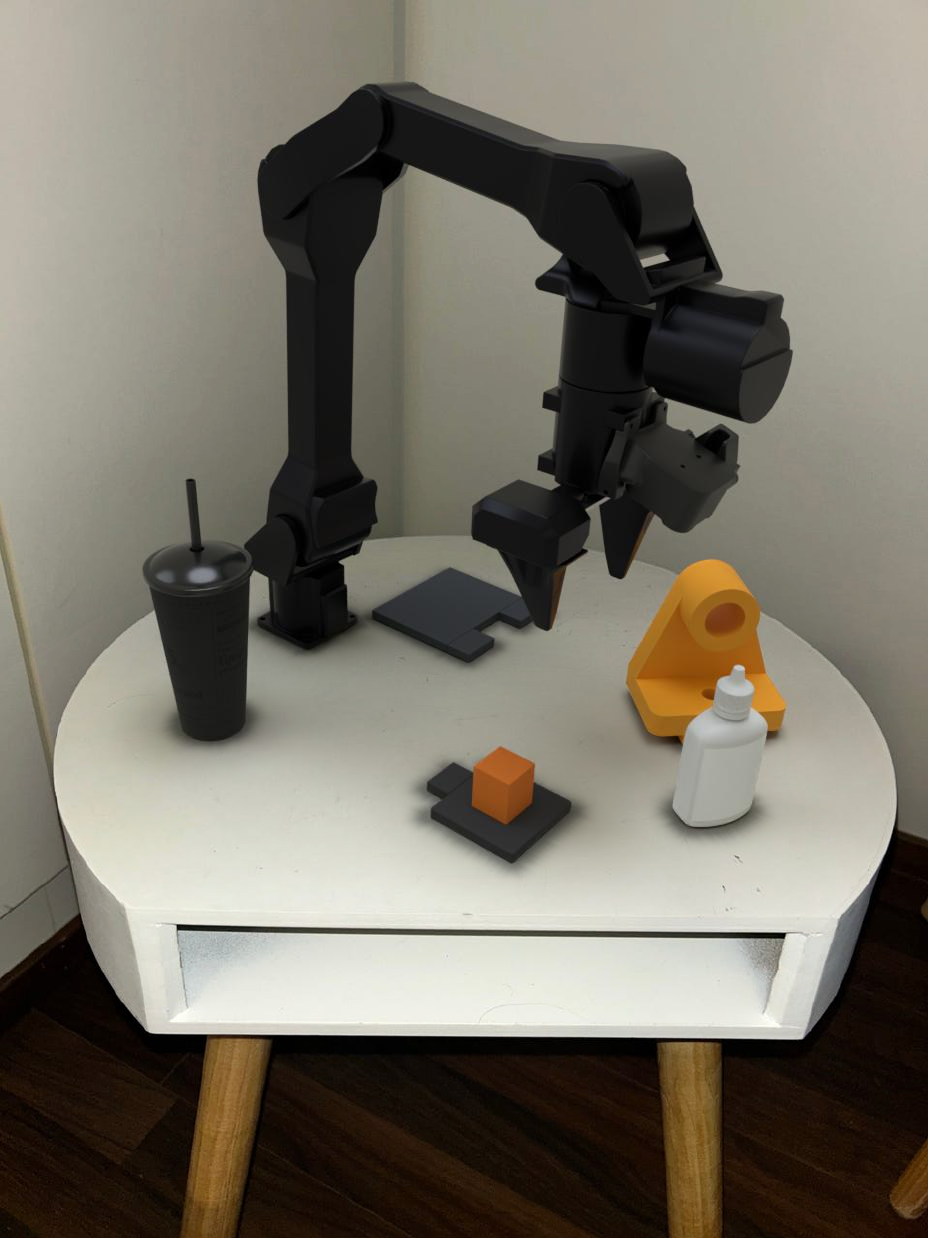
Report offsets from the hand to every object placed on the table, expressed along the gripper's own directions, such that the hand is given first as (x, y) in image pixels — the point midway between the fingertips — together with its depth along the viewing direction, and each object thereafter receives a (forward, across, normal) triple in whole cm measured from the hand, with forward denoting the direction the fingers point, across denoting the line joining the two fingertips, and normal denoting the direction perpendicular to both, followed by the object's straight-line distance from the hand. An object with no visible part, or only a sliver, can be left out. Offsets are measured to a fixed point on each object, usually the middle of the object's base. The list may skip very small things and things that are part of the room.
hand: (581, 601), depth 74 cm
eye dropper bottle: (+14, +2, -11) cm, 18 cm away
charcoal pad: (+14, +12, +19) cm, 26 cm away
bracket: (+14, +12, -5) cm, 19 cm away
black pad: (+14, -7, 0) cm, 16 cm away
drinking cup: (+14, -13, +23) cm, 30 cm away
